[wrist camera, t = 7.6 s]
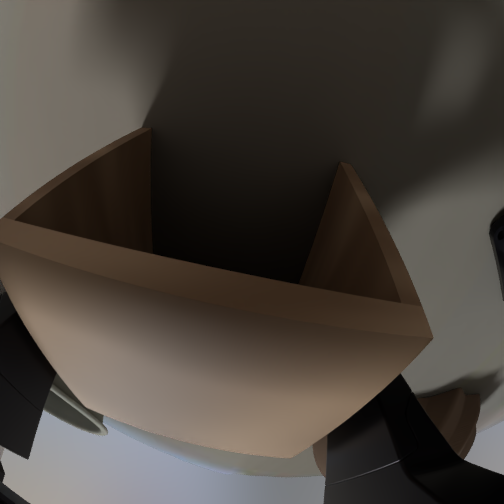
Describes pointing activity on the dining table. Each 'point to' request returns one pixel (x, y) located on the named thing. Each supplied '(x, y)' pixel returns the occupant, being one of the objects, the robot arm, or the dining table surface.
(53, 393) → the cake pan
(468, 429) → the decorative dome
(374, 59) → the dining table surface
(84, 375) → the brown wooden open box
